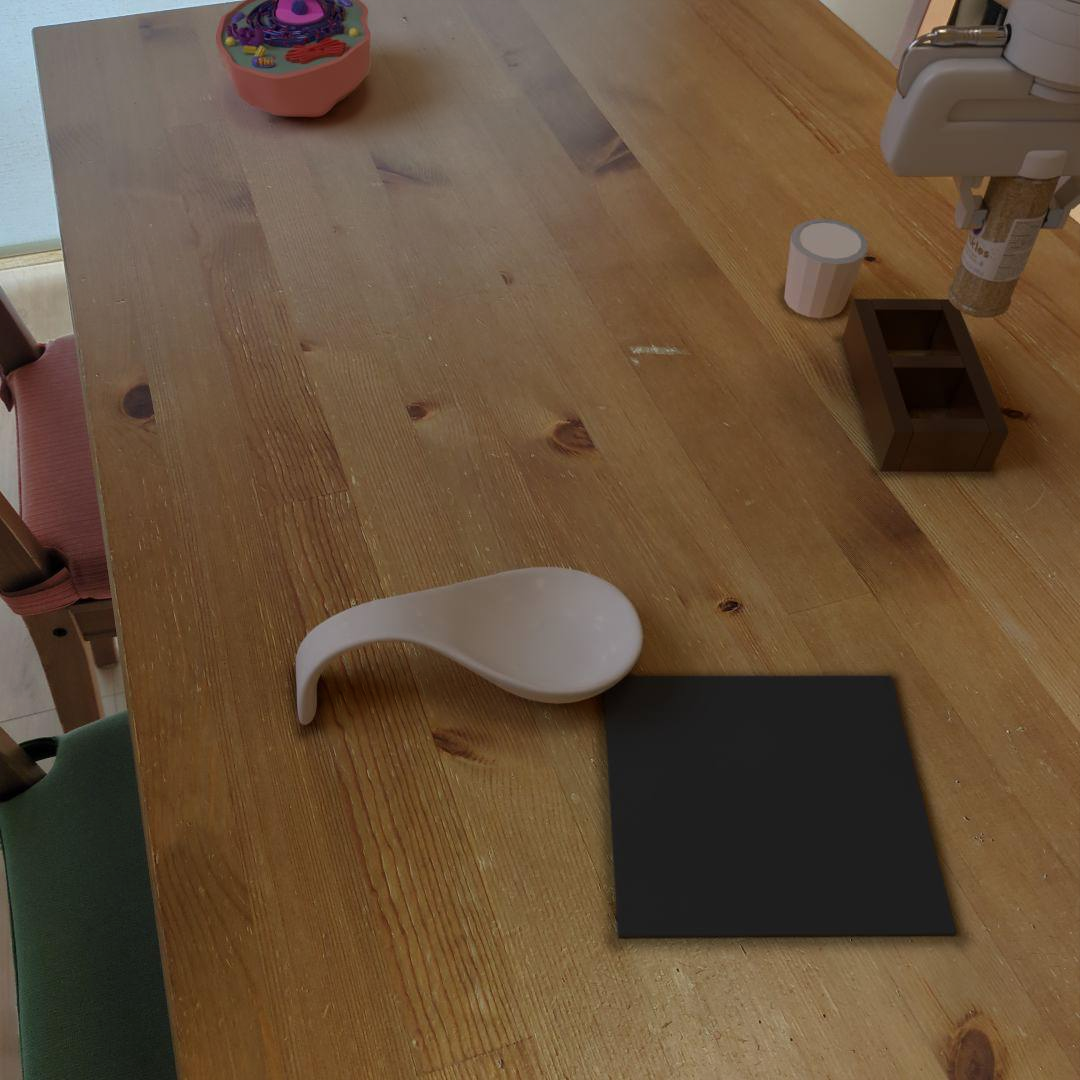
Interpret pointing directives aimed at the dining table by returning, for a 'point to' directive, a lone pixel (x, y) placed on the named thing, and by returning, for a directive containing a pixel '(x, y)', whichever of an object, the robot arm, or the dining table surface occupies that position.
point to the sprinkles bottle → (1005, 235)
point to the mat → (768, 810)
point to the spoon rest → (496, 633)
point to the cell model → (295, 53)
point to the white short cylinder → (823, 266)
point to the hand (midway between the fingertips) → (1007, 224)
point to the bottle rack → (922, 386)
